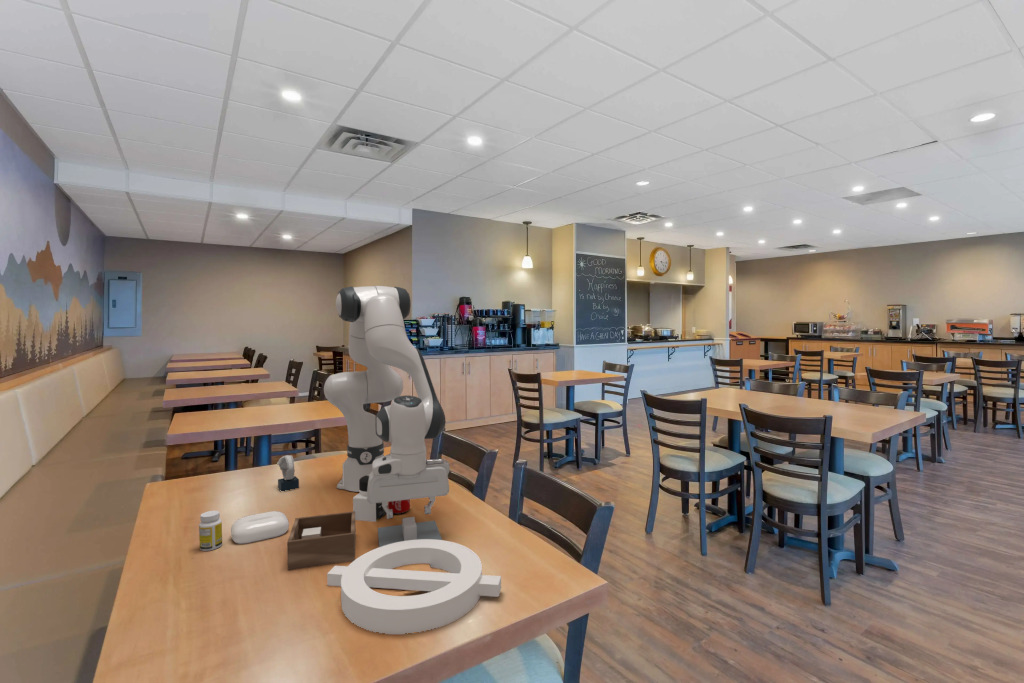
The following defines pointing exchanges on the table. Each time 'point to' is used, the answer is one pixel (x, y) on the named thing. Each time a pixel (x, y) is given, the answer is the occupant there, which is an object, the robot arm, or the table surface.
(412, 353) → the robot arm
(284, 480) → the bust statue
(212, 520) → the supplement bottle
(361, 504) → the medicine bottle
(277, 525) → the earbud case
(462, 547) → the ring with crossbar
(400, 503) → the soda can
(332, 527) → the walnut box
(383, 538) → the lid
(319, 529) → the ivory block
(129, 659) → the table surface
